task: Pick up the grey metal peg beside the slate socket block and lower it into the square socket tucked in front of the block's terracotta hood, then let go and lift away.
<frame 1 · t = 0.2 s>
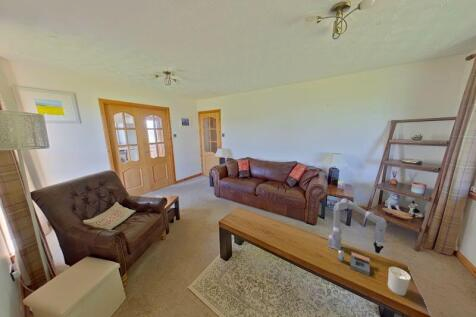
hand: (377, 249, 124), 10 cm above the table, fingers open, 7 cm apart
socket block: (359, 266, 121), on the table
candle holder: (396, 289, 103), on the table
metal peg: (340, 260, 127), on the table
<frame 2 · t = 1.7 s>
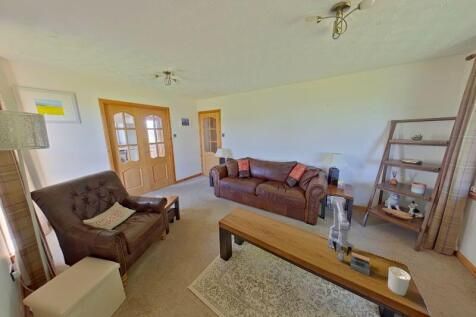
hand: (341, 252, 126), 7 cm above the table, fingers open, 7 cm apart
nothing on the table moved.
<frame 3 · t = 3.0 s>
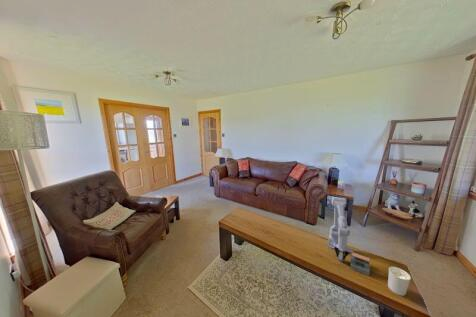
hand: (340, 257, 126), 2 cm above the table, fingers closed on metal peg, 4 cm apart
metal peg: (340, 260, 127), on the table, touching gripper
everything else where it was.
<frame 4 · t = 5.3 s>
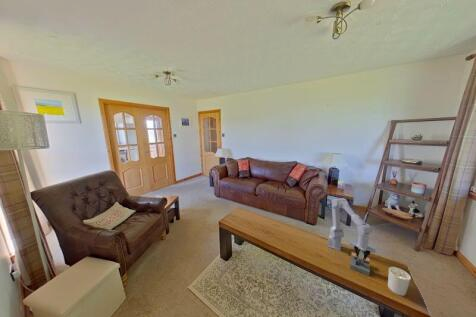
hand: (360, 257, 118), 9 cm above the table, fingers closed on metal peg, 4 cm apart
metal peg: (360, 260, 118), point 6 cm above the table, touching gripper
everything else where it was.
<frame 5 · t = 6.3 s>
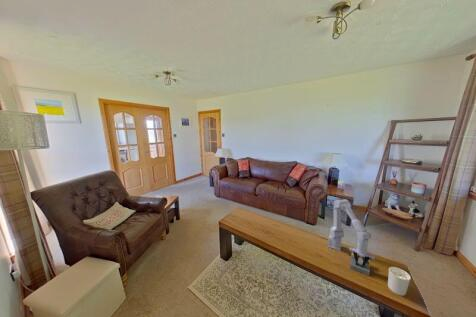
hand: (360, 263, 119), 4 cm above the table, fingers closed on metal peg, 4 cm apart
metal peg: (359, 266, 119), point 1 cm above the table, touching gripper
everything else where it was.
when the fingers open (4 cm above the table, at t = 7.4 s): metal peg stays where it is, resting on socket block.
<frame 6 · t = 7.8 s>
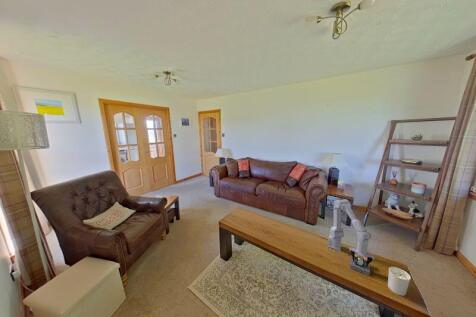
hand: (360, 263, 119), 4 cm above the table, fingers open, 7 cm apart
metal peg: (359, 267, 119), resting on socket block
everything else where it was.
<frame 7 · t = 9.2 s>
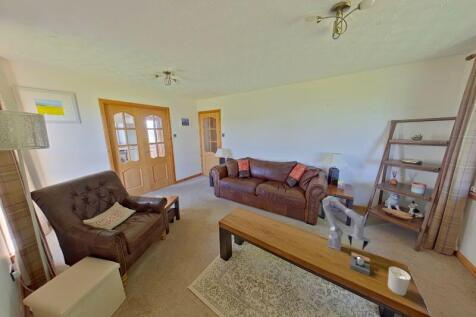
hand: (356, 247, 128), 9 cm above the table, fingers open, 7 cm apart
nothing on the table moved.
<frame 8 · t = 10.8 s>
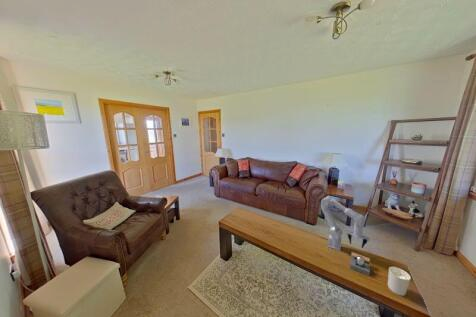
hand: (356, 245, 130), 9 cm above the table, fingers open, 7 cm apart
nothing on the table moved.
at the end: metal peg 0.1 cm from the target spot on the socket block, point 0.5 cm above the socket block's base; metal peg tilted 0°; the gripper is holding nothing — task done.
